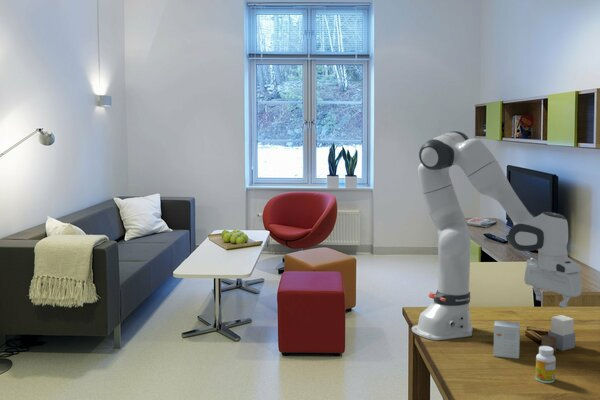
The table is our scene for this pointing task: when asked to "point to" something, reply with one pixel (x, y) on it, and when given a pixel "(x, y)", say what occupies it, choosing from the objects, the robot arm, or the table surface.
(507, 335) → the small box
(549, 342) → the walnut cylinder
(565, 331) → the top block
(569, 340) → the base block
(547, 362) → the supplement bottle
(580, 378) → the table surface
